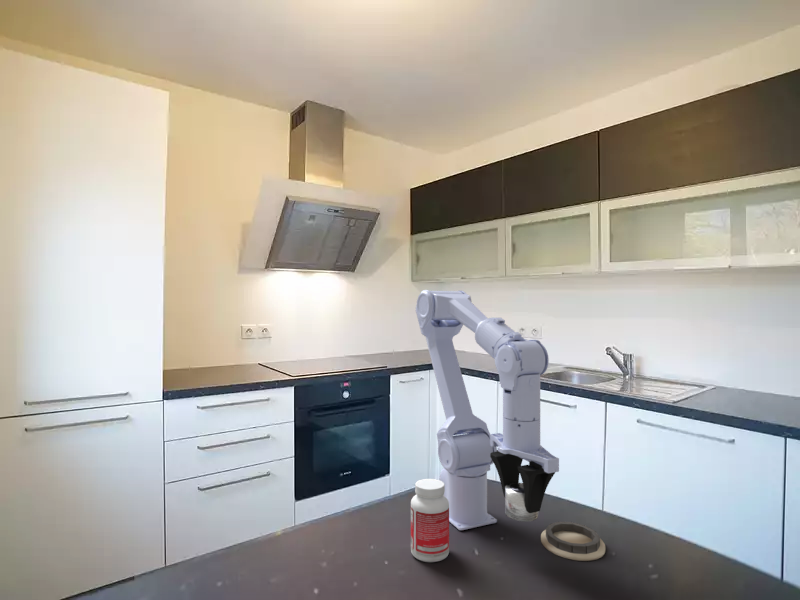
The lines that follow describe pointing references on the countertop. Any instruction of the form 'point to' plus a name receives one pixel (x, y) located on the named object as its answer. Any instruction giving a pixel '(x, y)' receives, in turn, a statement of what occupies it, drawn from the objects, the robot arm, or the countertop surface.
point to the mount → (573, 541)
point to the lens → (517, 503)
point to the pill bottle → (430, 521)
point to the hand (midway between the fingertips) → (521, 503)
